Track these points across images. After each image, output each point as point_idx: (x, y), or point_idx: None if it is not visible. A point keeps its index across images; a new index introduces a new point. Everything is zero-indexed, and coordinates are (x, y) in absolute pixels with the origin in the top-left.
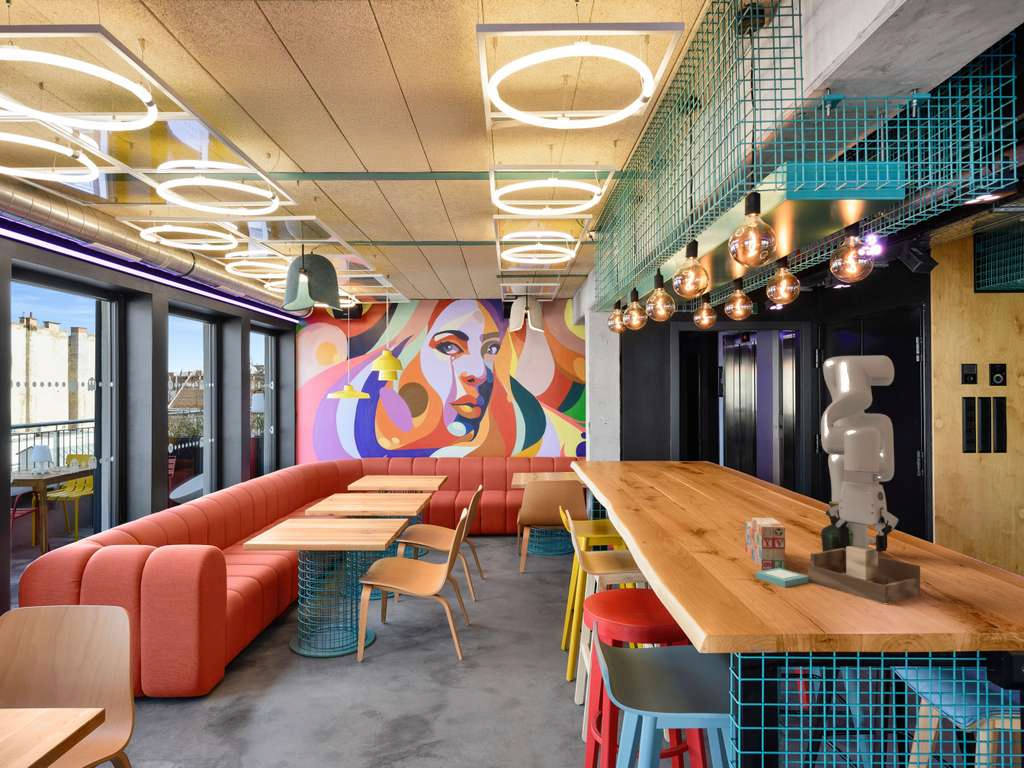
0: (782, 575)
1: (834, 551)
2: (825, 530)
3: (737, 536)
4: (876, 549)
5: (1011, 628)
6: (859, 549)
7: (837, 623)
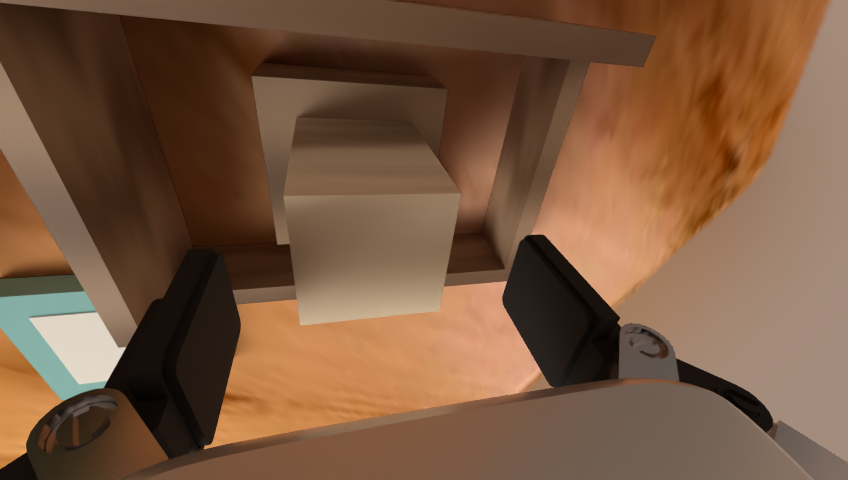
0: None
1: (53, 156)
2: None
3: None
4: (507, 307)
5: (769, 141)
6: (396, 310)
7: (470, 398)
